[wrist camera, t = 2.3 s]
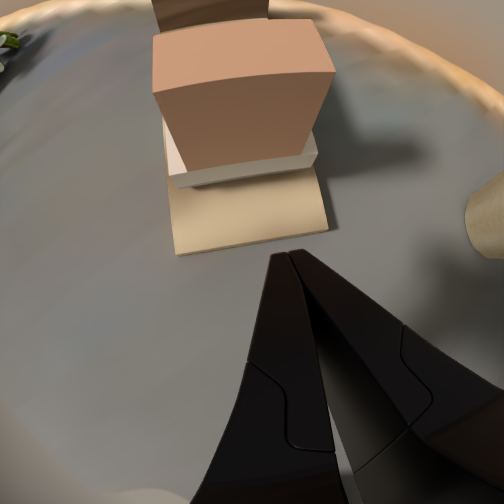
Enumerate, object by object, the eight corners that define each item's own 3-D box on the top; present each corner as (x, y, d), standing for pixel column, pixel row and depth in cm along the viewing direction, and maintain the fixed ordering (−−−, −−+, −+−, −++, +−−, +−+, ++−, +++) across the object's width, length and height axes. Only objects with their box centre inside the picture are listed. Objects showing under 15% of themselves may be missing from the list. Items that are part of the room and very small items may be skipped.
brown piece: (304, 179, 20) (362, 72, 9) (183, 198, 19) (123, 100, 8) (273, 67, 21) (290, -47, 10) (172, 81, 20) (139, -31, 9)
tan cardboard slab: (324, 231, 21) (358, 207, 14) (179, 256, 20) (150, 241, 14) (262, 13, 23) (266, -36, 17) (162, 26, 23) (149, -21, 16)
